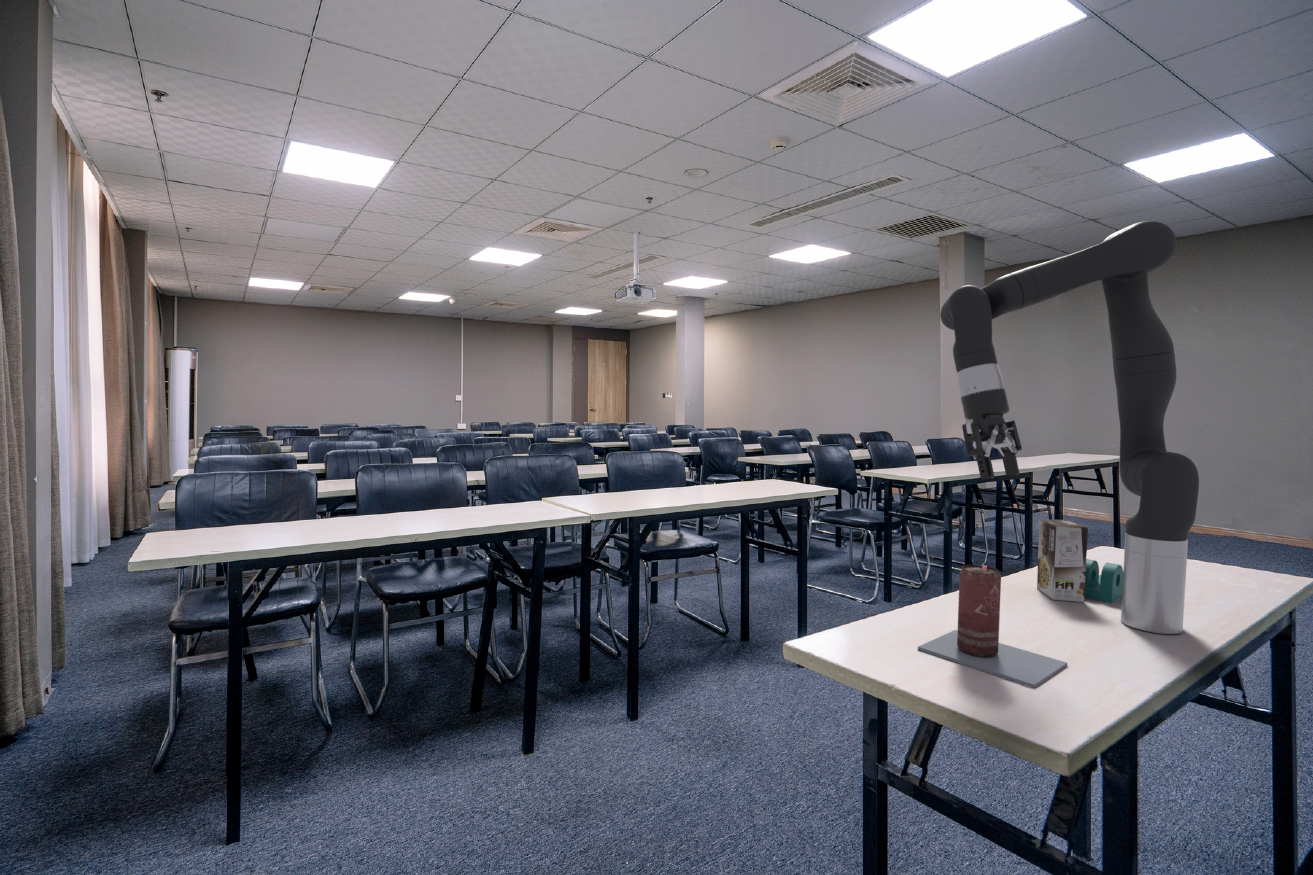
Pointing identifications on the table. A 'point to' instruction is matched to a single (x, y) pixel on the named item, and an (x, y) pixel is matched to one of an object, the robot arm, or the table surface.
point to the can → (979, 610)
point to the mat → (999, 661)
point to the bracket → (1103, 581)
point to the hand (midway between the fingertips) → (1000, 477)
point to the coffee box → (1062, 559)
